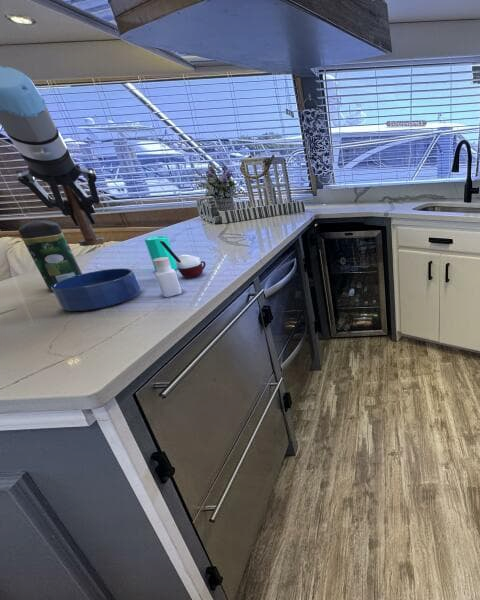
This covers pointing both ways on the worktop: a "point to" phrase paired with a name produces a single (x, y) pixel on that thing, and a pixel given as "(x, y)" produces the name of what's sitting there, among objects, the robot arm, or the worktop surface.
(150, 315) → the worktop surface
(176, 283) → the salt shaker
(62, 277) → the coffee jar
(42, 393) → the worktop surface
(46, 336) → the worktop surface
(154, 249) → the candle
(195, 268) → the cocoa
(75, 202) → the brown wooden pestle
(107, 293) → the bowl
